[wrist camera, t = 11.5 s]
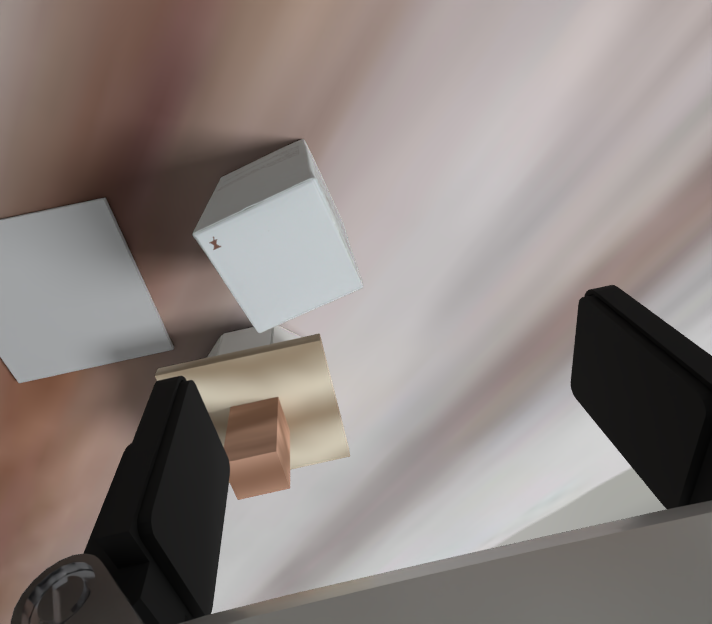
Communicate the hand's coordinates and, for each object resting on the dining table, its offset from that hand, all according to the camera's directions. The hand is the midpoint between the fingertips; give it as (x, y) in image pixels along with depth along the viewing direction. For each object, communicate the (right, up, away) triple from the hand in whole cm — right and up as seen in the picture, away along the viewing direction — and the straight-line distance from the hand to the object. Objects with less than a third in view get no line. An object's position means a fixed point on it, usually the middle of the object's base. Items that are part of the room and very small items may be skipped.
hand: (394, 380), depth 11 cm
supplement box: (-7, +11, +26) cm, 29 cm away
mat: (-25, +3, +27) cm, 37 cm away
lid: (-9, -7, +29) cm, 31 cm away
